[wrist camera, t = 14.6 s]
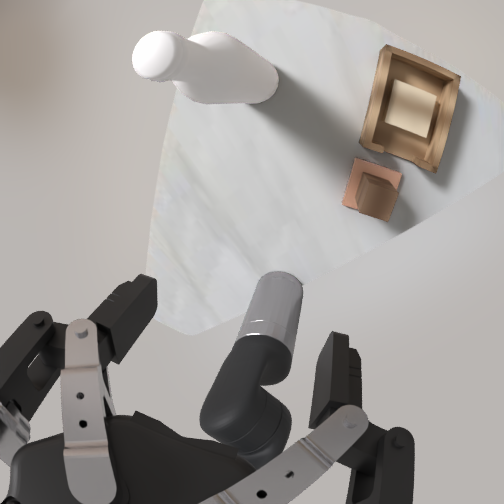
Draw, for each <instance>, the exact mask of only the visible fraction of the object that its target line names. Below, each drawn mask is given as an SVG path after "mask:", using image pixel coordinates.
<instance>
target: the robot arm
mask: <svg viewBox="0 0 504 504" xmlns="http://www.w3.org/2000/svg"><path fill="white" fill-rule="evenodd" d="M302 298H303V288H302V285H301V283H300V282H299V281H298V280H297V279H296V278H295V277H294V276H292V275H290V274H288V273H285V272H271V273H268V274H266V275H264V276H263V277H262V278H261V279H260V280H259V282H258V284H257V287H256V289H255V292H254V294H253V297H252V300H251V302H250V305H249V307H248V310H247V313H246V315H245V318H244V321H243V323H242V326H241V328H240V331H239V333H238V336H237V339H236V341H235V344H234V346H233V348H232V351H231V352H230V354H229V355H228V357H227V358H226V360H225V361H224V363H223V365H222V367H221V369H220V371H219V373H218V375H217V377H216V379H215V382H214V383H213V385H212V388H211V389H210V391H209V393H208V395H207V397H206V399H205V402H204V404H203V406H202V409H201V413H200V426H201V428H202V430H203V431H205V433H207V434H208V435H210V436H211V437H213V438H214V439H216V440H217V441H219V442H221V443H218V442H216V441H212V440H202V439H194V438H186V437H182V436H180V435H179V434H177V433H176V432H175V431H173V430H172V429H170V428H169V427H167V426H166V425H164V424H163V423H162V422H160V421H158V420H156V419H153V418H151V417H149V416H147V415H145V414H142V413H140V412H138V411H135V413H134V415H133V416H128V415H116V413H115V409H114V405H113V401H112V395H111V388H110V381H109V374H108V367H107V366H108V364H109V363H110V361H112V362H115V363H116V364H120V362H121V361H122V359H123V358H124V357H125V355H126V354H127V352H128V351H129V350H130V348H131V347H132V345H133V344H134V343H135V341H136V340H137V338H138V337H139V336H140V334H141V333H142V332H143V330H144V329H145V327H146V326H147V325H148V323H149V322H150V320H151V319H152V318H153V316H154V315H155V312H156V310H157V280H156V279H155V278H152V277H149V276H146V275H143V274H140V275H138V276H137V277H136V279H135V280H134V281H133V282H130V281H127V282H125V283H123V284H121V285H119V286H118V287H117V288H116V289H115V290H114V291H113V292H112V294H110V295H109V296H108V297H107V299H105V300H104V301H103V302H102V303H101V304H100V306H99V307H98V308H97V309H96V310H95V311H94V312H93V313H92V314H91V315H90V316H89V318H87V319H78V320H75V321H73V322H71V323H70V324H69V325H67V324H62V323H56V322H53V319H52V317H51V315H50V314H49V313H48V312H45V311H37V312H34V313H32V314H31V315H29V316H28V317H27V319H26V320H25V321H24V322H23V323H22V324H21V325H20V326H19V327H18V328H17V330H16V331H15V332H14V333H13V334H12V335H11V336H10V337H9V338H8V340H7V341H6V342H5V343H4V345H2V347H1V348H0V459H1V460H2V461H4V462H5V463H6V464H7V465H8V466H10V467H11V470H10V471H11V472H10V485H9V490H8V494H7V497H6V498H5V499H4V501H3V502H2V503H1V504H288V503H289V502H290V501H292V500H293V499H294V498H295V497H297V496H298V495H299V494H300V493H302V492H303V491H304V490H305V489H306V488H308V487H309V486H310V485H311V484H312V483H314V482H315V481H316V480H317V479H318V478H319V477H320V476H322V474H324V473H325V472H326V471H327V470H328V469H329V468H330V467H331V466H332V465H333V463H334V462H335V461H336V462H338V463H341V464H343V465H345V466H347V467H349V468H352V470H351V476H350V482H349V488H348V494H347V499H346V504H412V502H413V489H414V461H415V457H414V456H415V453H414V452H415V448H414V445H415V443H414V438H413V436H412V434H411V433H410V432H409V431H408V430H406V429H404V428H401V427H394V428H392V429H390V430H389V431H387V430H385V429H382V428H380V427H378V426H376V425H374V424H372V423H371V422H369V420H368V417H367V415H366V413H365V412H364V411H363V410H362V379H361V377H362V375H361V358H360V356H359V354H358V352H357V350H356V349H353V348H349V336H348V335H346V334H341V333H337V332H333V331H332V332H331V333H330V335H329V337H328V339H327V341H326V343H325V345H324V347H323V349H322V351H321V353H320V355H319V358H318V361H317V366H316V373H315V383H314V391H313V398H312V406H311V414H310V421H309V428H311V429H315V430H314V431H312V432H311V433H310V434H309V435H308V436H306V437H305V438H301V439H300V440H298V441H297V442H296V443H295V444H293V445H292V446H290V447H289V448H288V449H287V450H285V451H284V452H283V450H284V448H285V445H286V443H287V440H288V438H289V434H290V430H291V425H292V424H291V423H292V418H291V414H290V412H289V410H288V409H287V407H286V406H285V405H283V403H281V402H280V401H279V400H278V399H276V398H275V397H274V396H272V395H271V394H270V393H268V392H267V391H266V390H265V389H263V388H262V387H261V386H262V385H263V386H266V385H274V384H277V383H279V382H281V381H283V380H284V379H285V378H286V377H287V376H288V374H289V372H290V368H291V363H292V357H293V352H294V346H295V340H296V334H297V329H298V323H299V316H300V311H301V304H302ZM38 354H39V355H38ZM37 355H38V356H37ZM36 356H37V357H36ZM35 357H36V359H35V360H34V358H35ZM33 360H34V361H33ZM32 361H33V362H32ZM31 362H32V364H31V365H30V363H31ZM29 365H30V366H29ZM28 366H29V368H28ZM60 375H61V404H62V420H63V431H64V432H63V433H60V434H57V435H54V436H51V437H48V438H44V439H41V440H38V441H34V442H31V443H28V444H27V442H28V441H29V440H30V424H29V421H30V420H31V418H32V417H33V415H34V413H35V412H36V410H37V409H38V407H39V406H40V404H41V403H42V401H43V400H44V398H45V397H46V395H47V393H48V392H49V391H50V389H51V388H52V386H53V385H54V383H55V382H56V380H57V379H58V377H59V376H60ZM260 385H261V386H260Z"/></svg>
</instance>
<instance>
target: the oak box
mask: <svg viewBox="0 0 504 504" xmlns="http://www.w3.org/2000/svg"><path fill="white" fill-rule="evenodd" d="M460 78H461V76H459V75H457V74H455V73H453V72H451V71H449V70H447V69H445V68H443V67H441V66H439V65H436V64H434V63H432V62H430V61H428V60H425V59H423V58H421V57H418V56H416V55H413V54H411V53H408V52H406V51H403V50H401V49H398V48H395V47H392V46H390V45H387V44H386V45H385V46H384V47H383V48H382V49H381V50H380V54H379V59H378V64H377V69H376V73H375V78H374V83H373V87H372V92H371V96H370V101H369V105H368V109H367V113H366V117H365V121H364V125H363V129H362V133H361V137H360V141H359V143H360V144H361V145H362V146H363V147H365V148H368V149H371V150H374V151H377V152H380V153H383V151H385V152H388V153H390V154H393V155H396V156H399V157H401V158H404V159H407V160H409V161H412V162H413V163H415V164H416V165H417V166H419V167H421V168H423V169H426V170H428V171H431V172H433V173H436V172H437V169H438V166H439V163H440V160H441V157H442V153H443V150H444V146H445V143H446V139H447V136H448V132H449V128H450V124H451V120H452V116H453V112H454V108H455V103H456V99H457V94H458V89H459V84H460Z"/></svg>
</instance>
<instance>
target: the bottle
mask: <svg viewBox="0 0 504 504" xmlns="http://www.w3.org/2000/svg"><path fill="white" fill-rule="evenodd" d="M132 62H133V66H134V69H135V71H136V72H137V73H138V75H140V76H141V77H143V78H145V79H150V80H151V81H157V82H165V81H169V80H171V81H173V83H174V84H175V85H176V87H177V88H178V90H179V91H180V92H181V93H182V94H183V95H185V96H186V97H188V98H189V99H191V100H192V101H194V102H198V103H203V104H227V103H246V104H255V103H261V102H263V101H265V100H268V99H269V98H270V97H271V96H272V95H273V94H274V93H275V91H276V89H277V88H278V82H279V77H278V73H277V70H276V69H275V68H274V66H273V65H272V64H271V62H270V61H268V60H266V59H265V58H263V57H262V56H260V55H259V54H258V53H256V52H255V51H254V50H252V49H251V48H249V47H248V46H246V45H245V44H244V43H242V42H241V41H239V40H238V39H236V38H234V37H232V36H231V35H229V34H227V33H222V32H215V31H212V32H206V33H201V34H197V35H194V36H192V37H190V38H188V39H185V38H184V37H183V36H181V35H179V34H177V33H175V32H170V31H154V32H151V33H148V34H147V35H146V36H144V37H143V38H142V39H141V40H140V41H139V42H138V44H137V45H136V47H135V50H134V52H133V58H132Z"/></svg>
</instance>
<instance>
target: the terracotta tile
mask: <svg viewBox="0 0 504 504" xmlns="http://www.w3.org/2000/svg"><path fill="white" fill-rule="evenodd" d="M363 172H366V173H369V174H372V175H375V176H378V177H381V178H383V179H386V180H389V181H390V183H391V184H392V185H393V186H394V188H395V189H396V190H397V188H398V185H399V182H400V179H401V176H402V173H400V172H398V171H395V170H392V169H389V168H386V167H383V166H380V165H377V164H374V163H371V162H368V161H365V160H362V159H359V158H356V157H355V159H354V163H353V167H352V170H351V174H350V177H349V181H348V184H347V187H346V191H345V194H344V197H343V201H342V205H345V206H348V207H351V208H355V209H358V206H357V203H356V200H355V195H356V192H357V189H358V186H359V183H360V180H361V177H362V173H363Z"/></svg>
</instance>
